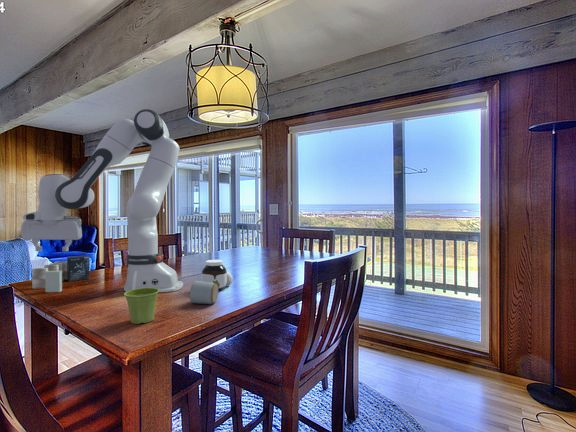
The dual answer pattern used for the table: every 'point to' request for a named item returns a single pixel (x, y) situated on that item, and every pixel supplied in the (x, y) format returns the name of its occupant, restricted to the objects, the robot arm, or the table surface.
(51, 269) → the domino
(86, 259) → the box
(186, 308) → the table surface
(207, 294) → the ceramic mug
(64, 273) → the end domino
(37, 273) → the domino
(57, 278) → the domino
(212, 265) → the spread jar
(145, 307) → the plant pot
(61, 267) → the domino
